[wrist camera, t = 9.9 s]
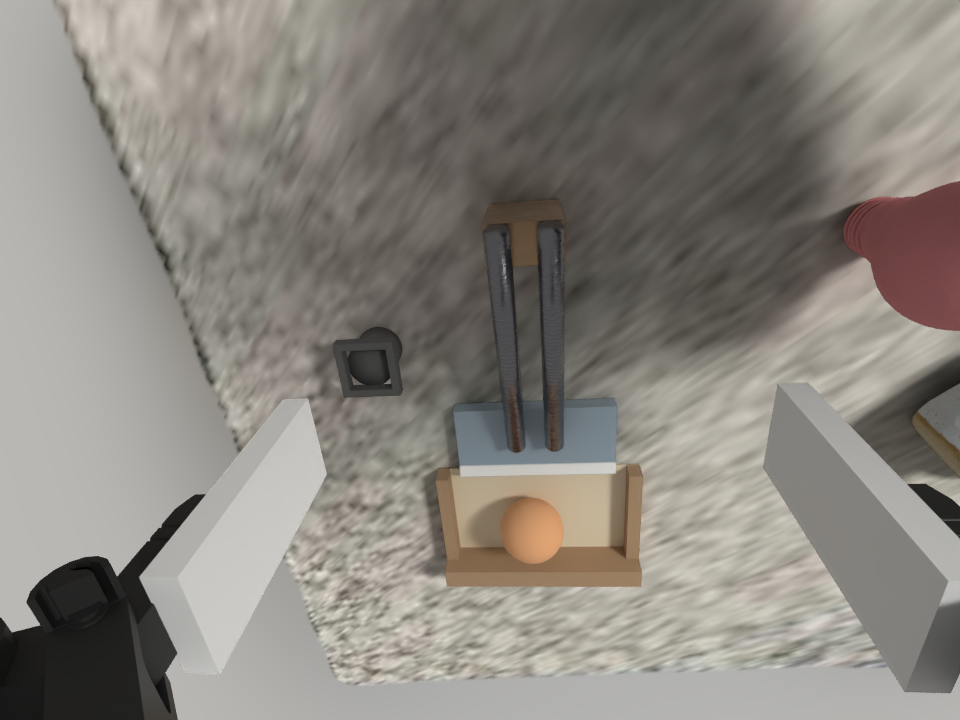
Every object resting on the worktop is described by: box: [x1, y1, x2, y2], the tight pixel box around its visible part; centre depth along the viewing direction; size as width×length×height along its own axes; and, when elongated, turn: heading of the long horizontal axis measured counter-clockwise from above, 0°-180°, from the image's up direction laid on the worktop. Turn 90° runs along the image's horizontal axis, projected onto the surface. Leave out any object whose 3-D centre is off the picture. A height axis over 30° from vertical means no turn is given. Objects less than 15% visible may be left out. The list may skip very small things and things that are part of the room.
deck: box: [453, 398, 617, 477], centre depth 42 cm, size 6×12×1 cm, turn 95°
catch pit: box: [436, 464, 643, 587], centre depth 44 cm, size 10×16×3 cm, turn 95°
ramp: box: [482, 199, 566, 453], centre depth 35 cm, size 18×4×8 cm, turn 5°
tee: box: [333, 327, 403, 398], centre depth 38 cm, size 4×4×4 cm
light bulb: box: [843, 181, 960, 331], centre depth 28 cm, size 7×7×12 cm
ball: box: [500, 498, 564, 564], centre depth 43 cm, size 5×5×5 cm
